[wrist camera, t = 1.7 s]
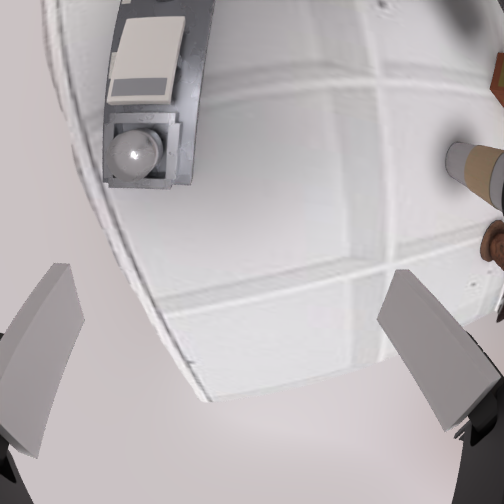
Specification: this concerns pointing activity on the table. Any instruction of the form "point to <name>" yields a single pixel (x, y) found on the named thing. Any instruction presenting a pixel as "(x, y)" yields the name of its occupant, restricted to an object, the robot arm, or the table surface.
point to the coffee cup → (479, 171)
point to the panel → (182, 100)
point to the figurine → (494, 244)
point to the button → (134, 154)
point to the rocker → (146, 61)
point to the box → (498, 79)
